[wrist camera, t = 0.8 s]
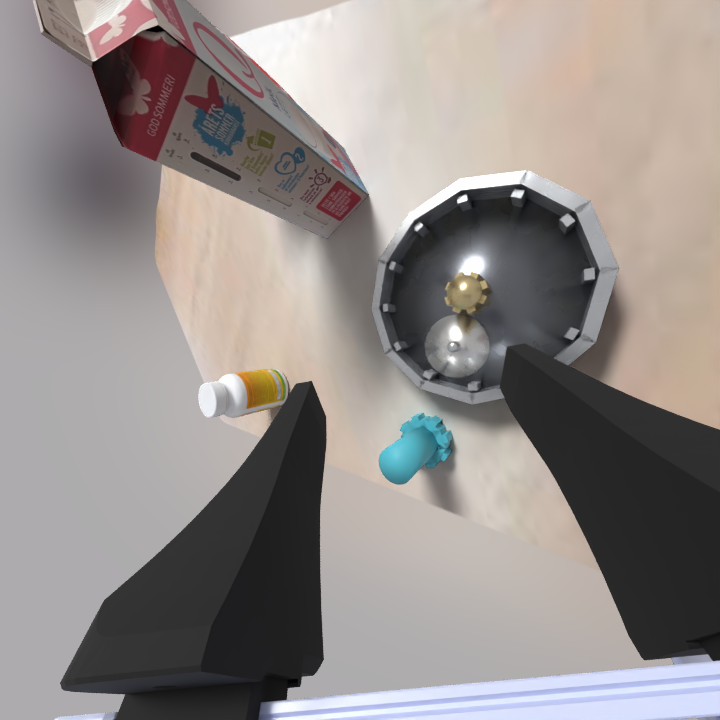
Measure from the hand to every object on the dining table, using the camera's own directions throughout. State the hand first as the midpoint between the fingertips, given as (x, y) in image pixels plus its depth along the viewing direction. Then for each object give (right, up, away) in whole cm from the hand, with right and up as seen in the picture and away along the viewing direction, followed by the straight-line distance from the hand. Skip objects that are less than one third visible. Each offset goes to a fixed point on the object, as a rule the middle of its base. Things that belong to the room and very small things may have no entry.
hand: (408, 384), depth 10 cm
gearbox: (+8, +6, +13) cm, 16 cm away
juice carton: (-5, +20, +20) cm, 29 cm away
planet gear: (+5, -7, +16) cm, 18 cm away
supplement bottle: (-14, -3, +28) cm, 32 cm away
